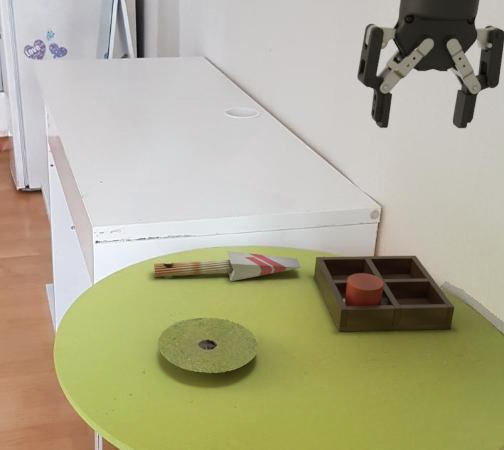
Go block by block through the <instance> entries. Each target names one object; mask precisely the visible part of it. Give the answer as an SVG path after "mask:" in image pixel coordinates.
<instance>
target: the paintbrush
mask: <svg viewBox="0 0 504 450" xmlns="http://www.w3.org/2000/svg"><path fill="white" fill-rule="evenodd" d="M227 255H228V259H218V260H217V259H216V260H200V261H184V262H183V261H182V262H180V261H179V262H170V263H165V262H162V263H161V262H159V263H153V270H154V271H153V273H154V278H162V277H163V278H164V277H169V276H172V277H176V276H178V277H179V276H193V275H211V274H228V277H229V280H230V282H234V281H239V280H245V279H250V278H255V277H260V276H265V275H271V274H275V273H276V274H277V273H282V272H285V271H291V270H296V269H301V268H302V266H301V263H300V262H299V259H298V258H297V257H289V256H288V257H287V256H286V257H285V256H278V255H269V254H259V253H248V252H239V251H230V250H227Z"/></svg>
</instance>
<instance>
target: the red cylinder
mask: <svg viewBox="0 0 504 450" xmlns="http://www.w3.org/2000/svg"><path fill="white" fill-rule="evenodd" d="M383 285H384V283H383V281H382V280H381V279H380V278H378V277H377V276H374V275H371V274H366V273H357V274H353V275H351V276H349V277H348V279H347V287H346V296H345V305H346V307H347V306H381V299H382V292H383Z"/></svg>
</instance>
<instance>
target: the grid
mask: <svg viewBox="0 0 504 450" xmlns="http://www.w3.org/2000/svg"><path fill="white" fill-rule="evenodd" d="M314 263H315V265H314V274H313V279H314V280H315V282H316V285H317V287H318V289H319V291H320V293H321V296H322V297H323V300H324V302H325V304H326V306H327V308H328V311H329V313H330V315H331V317H332V319H333V322H334V324H335V326H336V327H337V330H338V332H370V331H371V332H377V331H378V332H379V331H414V330H415V331H417V330H450V329H451V328H452V322H453V317H454V314H455V313H454V312H455V306H454V304H453V303H452V302H451V300H450V299H449V298H448V296H447V295H446V294H445V293H444V291H443V290H442V288H441V287H440V285H439V284H438V283H437V282H436V281H435V279H434V278H433V276H432V275H431V274H430V273H429V271H428V270H427V268H426V267H425V266H424V265H423V264H422V262H421V261H420V259H419V258H418V256H417V255H366V256H316V257H315V262H314ZM357 273H366V274H371V275H374V276H377V277H378V278H380V279H381V280H382V281H383V283H384V285H383V292H382V299H381V306H347V307H346V305H345V296H346V287H347V279H348V277H349V276H351V275H353V274H357Z"/></svg>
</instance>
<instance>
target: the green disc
mask: <svg viewBox="0 0 504 450" xmlns="http://www.w3.org/2000/svg"><path fill="white" fill-rule="evenodd" d="M157 347H158V350H159V352H160V353H161V355H162V356H163V357H164V358H165V359H166V361H168V362H169V363H171V364H172V365H175V366H176V367H178V368H181V369H183V370H186V371H189V372H196V373H197V372H198V373H207V374H212V373H214V374H218V373H220V374H221V373H226V372H230V371H235V370H237V369H240V368H242V367H244V366H245V365H247V364H248V363H249V362H251V361H252V360H253V359H254V358H255V356H256V355H257V353H258V350H259V348H258V347H259V346H258V340H257V338H256V336H255V335H254V333H253V332H251V331H250V329H248V328H247V327H245V326H244V325H241V324H240V323H238V322H234V321H233V320H229V319H224V318H218V317H196V318H195V317H194V318H189V319H185V320H184V319H183V320H180V321H177V322H174V323H173V324H171V325H169V326H168V327H166V328H165V329H164V330H163V331H162V332H161V334H160V335H159V337H158V341H157Z"/></svg>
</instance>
